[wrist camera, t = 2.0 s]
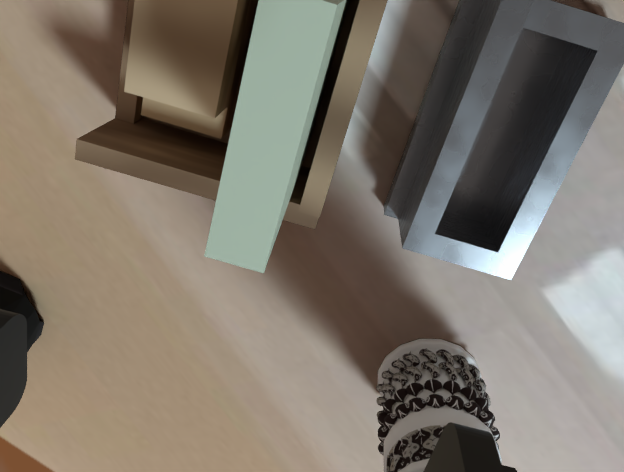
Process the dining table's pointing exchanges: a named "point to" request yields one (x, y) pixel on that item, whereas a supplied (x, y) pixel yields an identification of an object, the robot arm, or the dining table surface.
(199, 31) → the offcut upper
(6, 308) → the portable speaker
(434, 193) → the stand
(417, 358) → the decorative candle
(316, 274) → the dining table surface
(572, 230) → the dining table surface
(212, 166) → the rack
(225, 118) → the offcut lower
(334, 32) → the panel
